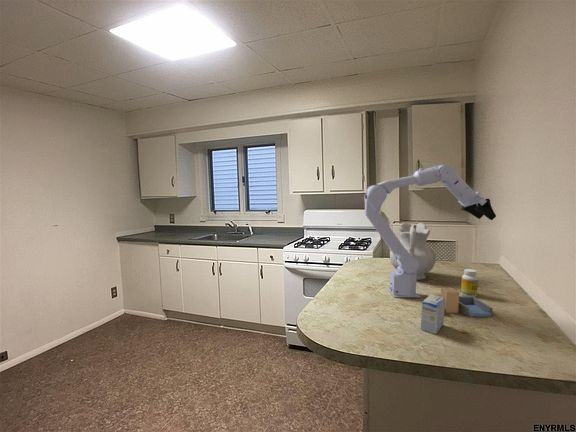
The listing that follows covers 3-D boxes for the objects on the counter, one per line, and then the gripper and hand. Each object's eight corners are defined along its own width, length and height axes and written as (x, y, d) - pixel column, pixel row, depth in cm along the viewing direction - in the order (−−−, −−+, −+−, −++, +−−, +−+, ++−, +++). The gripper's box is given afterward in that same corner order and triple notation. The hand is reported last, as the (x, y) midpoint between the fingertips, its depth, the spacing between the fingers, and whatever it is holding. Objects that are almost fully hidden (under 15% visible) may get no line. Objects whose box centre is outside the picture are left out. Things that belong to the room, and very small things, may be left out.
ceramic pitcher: (440, 288, 133) (448, 229, 131) (391, 281, 136) (399, 224, 133) (426, 273, 155) (433, 222, 152) (384, 268, 158) (390, 218, 155)
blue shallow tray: (443, 316, 103) (443, 308, 102) (427, 302, 114) (428, 295, 114) (493, 316, 103) (494, 309, 102) (472, 302, 114) (473, 296, 114)
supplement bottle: (465, 291, 126) (466, 267, 125) (479, 295, 122) (481, 270, 121) (457, 294, 123) (459, 269, 122) (472, 298, 119) (474, 273, 118)
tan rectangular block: (445, 312, 106) (446, 292, 105) (440, 307, 110) (441, 288, 109) (457, 312, 106) (459, 292, 105) (451, 308, 110) (453, 288, 109)
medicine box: (428, 321, 99) (429, 293, 98) (443, 325, 96) (445, 297, 96) (420, 330, 93) (421, 301, 92) (436, 334, 90) (438, 305, 89)
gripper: (480, 181, 109) (508, 210, 109) (459, 184, 124) (483, 209, 124) (465, 196, 110) (493, 224, 110) (445, 197, 124) (470, 222, 124)
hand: (487, 217), depth 117 cm, fingers open, 7 cm apart
